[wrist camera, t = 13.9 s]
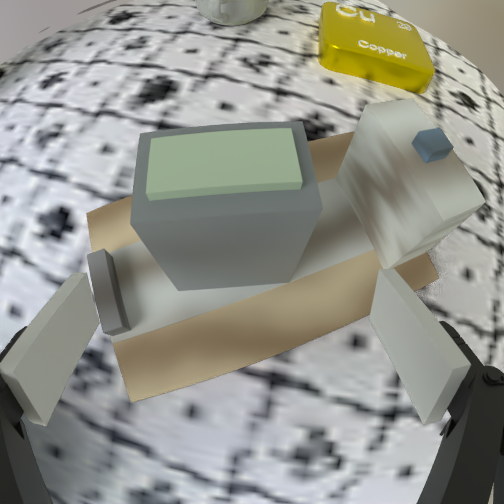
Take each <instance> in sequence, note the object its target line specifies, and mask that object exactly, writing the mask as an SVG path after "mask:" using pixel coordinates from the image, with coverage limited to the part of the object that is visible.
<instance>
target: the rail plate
mask: <svg viewBox="0 0 504 504" xmlns="http://www.w3.org/2000/svg"><path fill="white" fill-rule="evenodd" d="M308 146H309V150H310V154H311V158H312V162H313V167H314V171H315V175H316V180H317V184H318V188H319V193H320V198H321V202H322V207H323V210H322V212H321V215H320V217H319V219H318V221H317V223H316V226H315V228H314V230H313V232H312V234H311V237H310V239H309V241H308V243H307V245H306V247H305V250H304V252H303V254H302V256H301V258H300V260H299V262H298V264H297V267H296V269H295V271H294V273H293V275H292V277H291V279H290V281H289V283H279V284H267V285H255V286H243V287H230V288H217V289H203V290H188V291H178V290H177V289H176V287H175V286H174V285H173V283H172V282H171V281H170V279H169V278H168V277H167V275H166V274H165V273H164V271H163V270H162V268H161V267H160V266H159V264H158V263H157V262H156V260H155V259H154V257H153V256H152V255H151V253H150V252H149V250H148V249H147V248H146V246H145V245H144V243H143V242H142V240H141V239H140V238H139V236H138V235H137V233H136V232H135V230H134V229H133V227H132V226H131V224H130V217H131V205H132V196H129V197H126V198H124V199H121V200H118V201H116V202H113V203H111V204H108V205H105V206H103V207H100V208H98V209H95V210H93V211H90V212H88V213H86V214H87V221H88V228H89V235H90V241H91V248H92V253H90V254H88V255H87V259H88V265H89V270H90V276H91V281H92V286H93V291H94V296H95V300H96V305H97V309H98V314H99V318H100V322H101V326H102V330H103V333H105V334H108V335H110V338H111V342H112V344H113V347H114V350H115V354H116V357H117V360H118V364H119V367H120V370H121V374H122V377H123V380H124V383H125V386H126V389H127V392H128V395H129V398H130V401H131V402H135V401H139V400H143V399H146V398H150V397H154V396H157V395H160V394H164V393H167V392H171V391H174V390H177V389H180V388H184V387H187V386H190V385H193V384H196V383H199V382H203V381H206V380H209V379H212V378H215V377H217V376H220V375H223V374H226V373H229V372H232V371H235V370H237V369H240V368H243V367H246V366H249V365H251V364H254V363H257V362H259V361H262V360H265V359H267V358H270V357H272V356H275V355H277V354H280V353H282V352H285V351H287V350H290V349H292V348H295V347H297V346H300V345H302V344H305V343H307V342H309V341H312V340H314V339H316V338H319V337H321V336H323V335H326V334H328V333H330V332H332V331H335V330H337V329H339V328H341V327H344V326H346V325H348V324H350V323H352V322H354V321H357V320H359V319H361V318H363V317H365V316H367V315H369V314H370V312H371V307H372V303H373V298H374V293H375V288H376V283H377V277H378V272H379V269H391V268H394V269H395V270H396V271H397V273H398V274H399V275H400V276H401V277H402V278H403V279H404V281H405V282H406V283H407V284H408V285H409V286H410V288H411V289H412V290H413V291H414V292H415V291H417V290H419V289H421V288H423V287H424V286H426V285H428V284H430V283H432V282H434V281H435V280H437V279H439V276H438V274H437V272H436V270H435V268H434V266H433V264H432V262H431V259H430V257H429V255H428V253H427V251H428V250H429V249H430V248H432V247H433V246H434V245H435V244H437V243H438V242H439V241H440V240H442V239H443V238H444V237H445V236H447V235H448V234H449V233H450V232H451V231H453V230H454V229H455V228H456V227H458V226H459V225H460V224H461V223H462V222H463V221H465V220H466V219H467V218H468V217H469V216H470V215H472V214H473V213H474V212H475V211H476V210H477V209H479V208H480V207H481V206H482V205H483V204H484V203H485V202H486V201H485V199H484V198H483V196H482V194H481V192H480V191H479V189H478V188H477V186H476V184H475V183H474V181H473V179H472V178H471V176H470V175H469V173H468V172H467V170H466V169H465V167H464V166H463V164H462V163H461V161H460V160H459V158H458V157H457V155H456V154H455V152H454V151H453V145H452V144H451V143H450V141H449V140H448V139H447V137H446V136H445V134H444V133H443V132H442V130H441V129H440V128H436V126H435V125H434V124H433V122H432V121H431V120H430V119H429V117H428V116H427V115H426V114H425V112H424V111H423V110H422V109H421V107H420V106H419V105H418V104H417V103H416V101H415V100H414V99H406V100H397V101H389V102H382V103H374V104H367V105H366V106H365V108H364V111H363V113H362V116H361V118H360V121H359V123H358V126H357V128H356V131H355V132H349V133H345V134H340V135H335V136H331V137H327V138H322V139H318V140H314V141H309V142H308Z"/></svg>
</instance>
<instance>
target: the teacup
mask: <svg viewBox="0 0 504 504" xmlns="http://www.w3.org/2000/svg"><path fill="white" fill-rule="evenodd" d="M267 5H268V0H196V6H197V9H198V11H199V12H200V14H202V15H203V16H204V17H206V18H207V19H209V20H210V21H212V22H214V23H217V24H220V25H228V26H236V25H243V24H246V23H249V22H251V21H252V20H254V19H257V18H258V17H260V16H261V15H262V14H263V13H264V12H265V10H266V8H267Z"/></svg>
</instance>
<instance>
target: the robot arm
mask: <svg viewBox="0 0 504 504" xmlns="http://www.w3.org/2000/svg"><path fill="white" fill-rule="evenodd" d="M369 321H370V323H371V324H372V326H373V328H374V330H375V332H376V334H377V335H378V337H379V339H380V341H381V343H382V345H383V346H384V348H385V350H386V352H387V354H388V356H389V358H390V360H391V362H392V363H393V365H394V367H395V369H396V371H397V373H398V375H399V377H400V379H401V381H402V383H403V385H404V387H405V389H406V391H407V393H408V395H409V397H410V399H411V401H412V403H413V405H414V407H415V409H416V411H417V413H418V415H419V417H420V419H421V421H422V423H423V425H425V424H429V423H433V422H436V421H440V420H441V419H442V417H443V415H444V414H445V412H446V410H448V412H449V413H450V415H451V418H450V419H449V421H448V422H447V424H446V425H445V427H444V429H443V430H442V432H441V433H440V435H441V436H442V435H443V434H444V435H443V438H442V441H441V444H440V447H439V450H438V453H437V456H436V458H435V461H434V464H433V466H432V469H431V471H430V474H429V476H428V479H427V481H426V484H425V486H424V488H423V491H422V493H421V495H420V497H419V499H418V502H417V504H488V501H489V497H490V494H491V490H492V486H493V482H494V494H493V497H494V498H493V504H504V373H503V372H501V371H500V370H499V369H497V368H495V367H493V366H483V364H482V363H481V362H480V360H479V359H478V358H477V357H476V355H475V354H474V353H473V351H472V350H471V349H470V347H469V346H468V345H467V344H465V341H464V340H463V339H462V337H461V338H460V335H459V334H458V332H457V331H456V330H455V329H454V328H453V327H452V326H450V325H449V324H448V323H446V322H445V321H440V322H438V320H437V319H436V318H435V317H434V315H433V314H432V313H431V312H430V310H429V309H428V308H427V307H426V306H425V304H424V303H423V302H422V301H421V300H420V298H419V297H418V296H417V295H416V294H415V292H414V291H413V290H412V289H411V288H410V286H409V285H408V284H407V283H406V282H405V281H404V279H403V278H402V277H401V276H400V275H399V274H398V273H397V271H396V270H395V269H394V268H391V269H379V272H378V277H377V283H376V288H375V293H374V298H373V303H372V307H371V312H370V317H369ZM99 323H100V322H99V318H98V315H97V311H96V308H95V304H94V300H93V296H92V292H91V288H90V284H89V280H88V276H87V273H72V274H71V275H70V277H69V278H68V279H67V280H66V281H65V282H64V283H63V285H62V286H61V287H60V288H59V289H58V290H57V292H56V293H55V294H54V295H53V296H52V297H51V299H50V300H49V301H48V302H47V303H46V305H45V306H44V307H43V308H42V309H41V311H40V312H39V313H38V314H37V316H36V317H35V318H34V319H33V321H32V322H31V323H30V324H29V326H25V327H24V328H23V329H21V330H20V331H18V332H17V333H16V334H15V335H14V337H13V338H12V339H11V341H10V343H8V345H7V346H6V347H5V349H4V350H3V351H2V352H1V354H0V504H53V502H52V500H51V498H50V496H49V493H48V491H47V489H46V486H45V484H44V481H43V479H42V476H41V474H40V471H39V468H38V466H37V463H36V460H35V457H34V454H33V451H32V449H31V445H30V442H29V439H28V436H27V433H26V429H25V426H24V423H23V422H22V420H21V419H20V418H21V416H22V414H23V412H24V413H25V414H26V416H27V417H28V419H29V420H30V422H32V423H35V424H39V425H43V426H47V424H48V422H49V420H50V418H51V415H52V413H53V411H54V409H55V407H56V405H57V403H58V401H59V399H60V397H61V395H62V393H63V391H64V389H65V387H66V385H67V383H68V381H69V379H70V377H71V375H72V373H73V371H74V369H75V367H76V365H77V363H78V361H79V359H80V358H81V356H82V354H83V352H84V350H85V348H86V346H87V345H88V343H89V341H90V339H91V337H92V336H93V334H94V332H95V330H96V328H97V327H98V325H99Z"/></svg>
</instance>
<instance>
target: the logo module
mask: <svg viewBox="0 0 504 504" xmlns="http://www.w3.org/2000/svg"><path fill="white" fill-rule="evenodd" d="M322 210H323V207H322V202H321V198H320V193H319V188H318V184H317V180H316V175H315V171H314V167H313V162H312V158H311V154H310V150H309V146H308V142H307V138H306V134H305V130H304V126H303V122H302V121H301V122H258V123H238V124H223V125H210V126H199V127H189V128H179V129H171V130H163V131H155V132H148V133H141V134H140V138H139V145H138V152H137V160H136V168H135V176H134V185H133V195H132V205H131V217H130V224H131V226H132V227H133V229H134V230H135V232H136V233H137V235H138V236H139V238H140V239H141V240H142V242H143V243H144V245H145V246H146V248H147V249H148V250H149V252H150V253H151V255H152V256H153V257H154V259H155V260H156V262H157V263H158V264H159V266H160V267H161V268H162V270H163V271H164V273H165V274H166V275H167V277H168V278H169V279H170V281H171V282H172V283H173V285H174V286H175V287H176V289H177V290H178V291H188V290H203V289H217V288H230V287H243V286H255V285H267V284H279V283H289V281H290V279H291V277H292V275H293V273H294V271H295V269H296V267H297V264H298V262H299V260H300V258H301V256H302V254H303V252H304V250H305V247H306V245H307V243H308V241H309V239H310V237H311V234H312V232H313V230H314V228H315V226H316V223H317V221H318V219H319V217H320V215H321V212H322Z"/></svg>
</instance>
